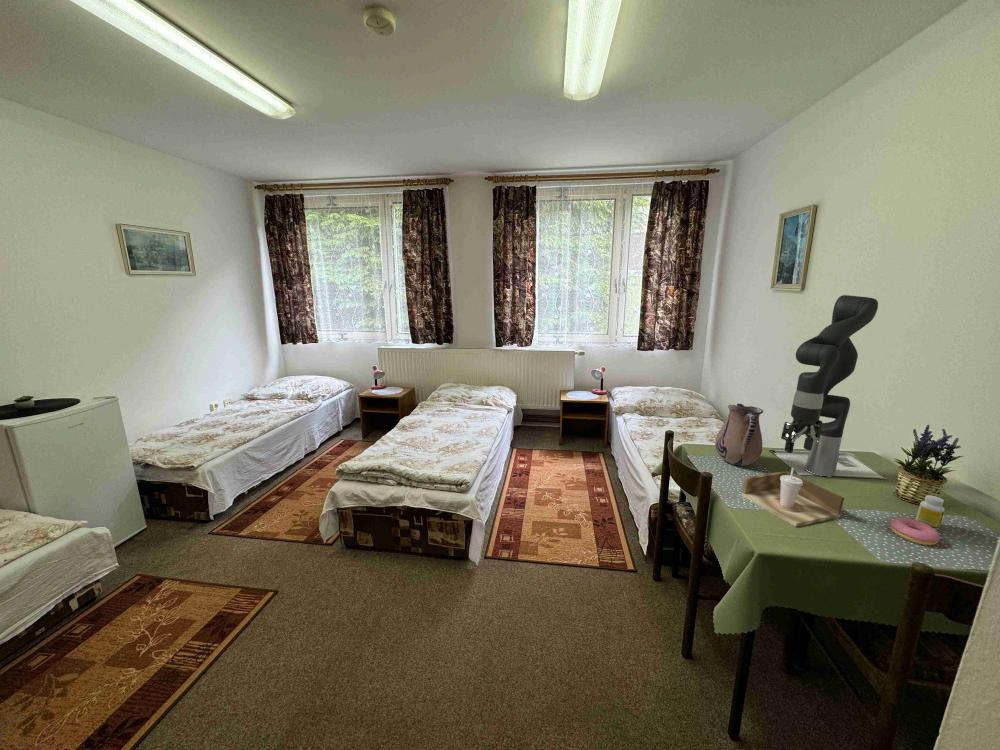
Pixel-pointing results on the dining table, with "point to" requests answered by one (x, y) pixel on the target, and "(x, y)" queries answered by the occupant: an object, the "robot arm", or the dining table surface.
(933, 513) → the supplement bottle
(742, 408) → the ceramic pitcher
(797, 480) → the smoothie
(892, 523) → the doughnut
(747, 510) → the dining table surface
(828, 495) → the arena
